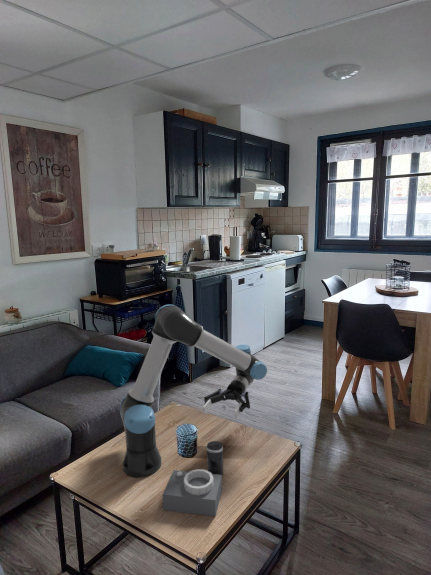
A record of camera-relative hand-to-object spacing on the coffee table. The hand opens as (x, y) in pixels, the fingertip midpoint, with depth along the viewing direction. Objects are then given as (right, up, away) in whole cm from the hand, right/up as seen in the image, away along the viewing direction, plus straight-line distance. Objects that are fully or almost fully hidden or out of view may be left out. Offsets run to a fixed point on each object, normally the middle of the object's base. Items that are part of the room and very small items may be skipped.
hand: (219, 412), depth 156 cm
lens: (-2, -22, -4) cm, 23 cm away
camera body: (-9, -25, -18) cm, 32 cm away
